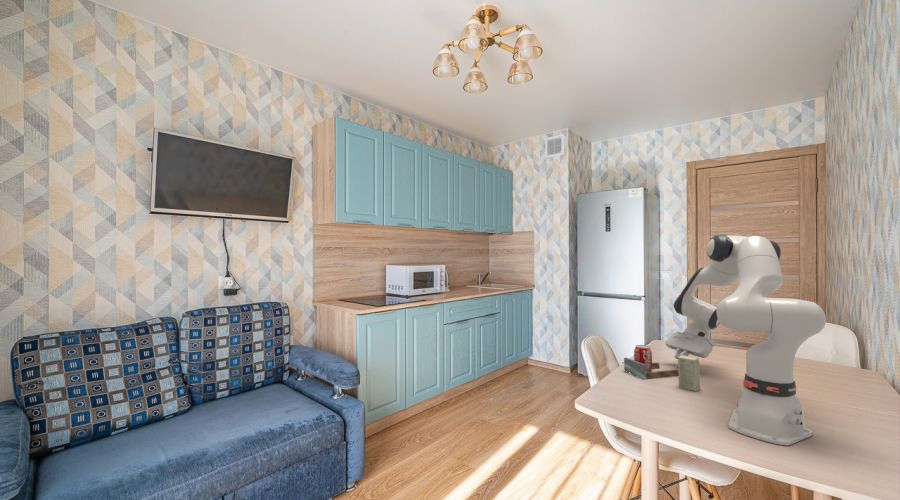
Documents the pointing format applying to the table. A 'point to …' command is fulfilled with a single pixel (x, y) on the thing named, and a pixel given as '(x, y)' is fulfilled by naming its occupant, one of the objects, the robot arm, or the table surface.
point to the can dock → (641, 372)
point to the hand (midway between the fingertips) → (677, 358)
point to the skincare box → (689, 373)
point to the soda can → (643, 356)
